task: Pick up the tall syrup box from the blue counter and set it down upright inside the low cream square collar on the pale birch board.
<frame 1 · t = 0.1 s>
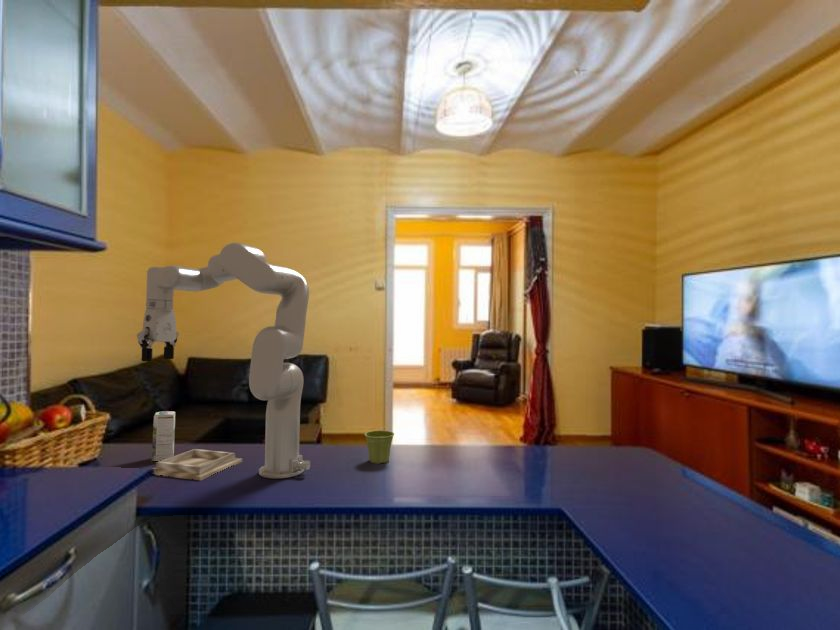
hand: (158, 360, 147), 31 cm above the kitchen counter, tool pointing down, fingers open, 9 cm apart
syrup box: (163, 459, 146), on the kitchen counter
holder: (196, 467, 138), on the kitchen counter
plant pot: (378, 461, 147), on the kitchen counter
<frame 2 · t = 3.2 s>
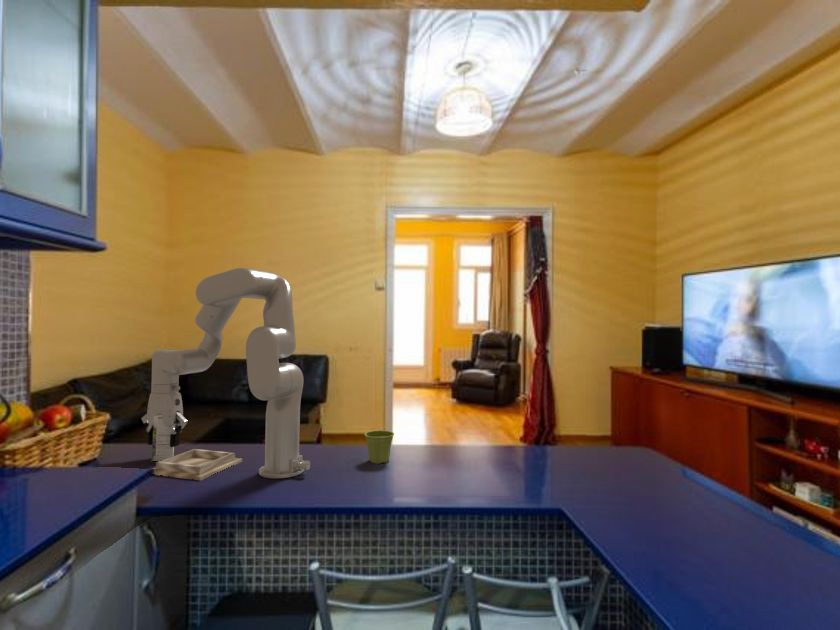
hand: (163, 444, 146), 4 cm above the kitchen counter, tool pointing down, fingers closed on syrup box, 7 cm apart
syrup box: (163, 459, 146), on the kitchen counter, touching gripper
everything else where it was.
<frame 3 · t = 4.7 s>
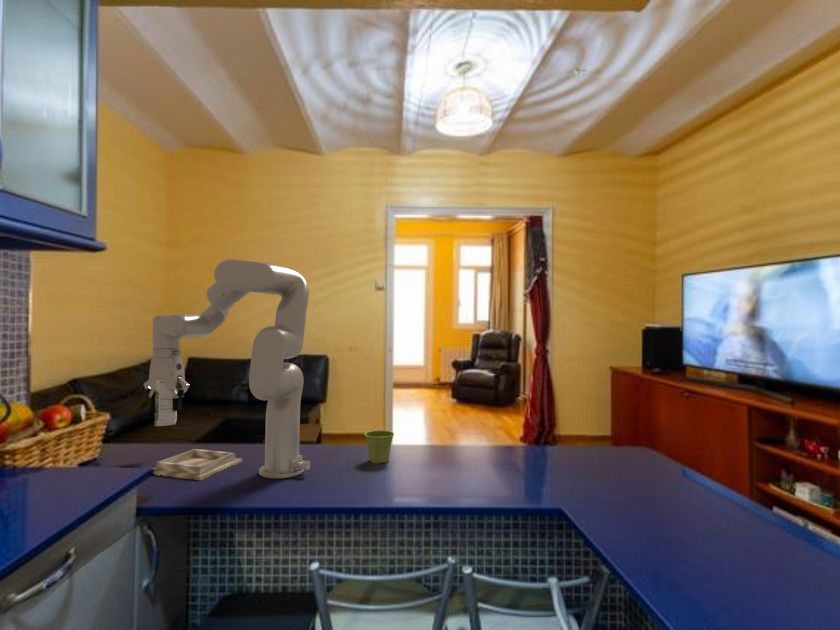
hand: (166, 409, 146), 15 cm above the kitchen counter, tool pointing down, fingers closed on syrup box, 7 cm apart
syrup box: (166, 424, 146), point 11 cm above the kitchen counter, touching gripper
everything else where it was.
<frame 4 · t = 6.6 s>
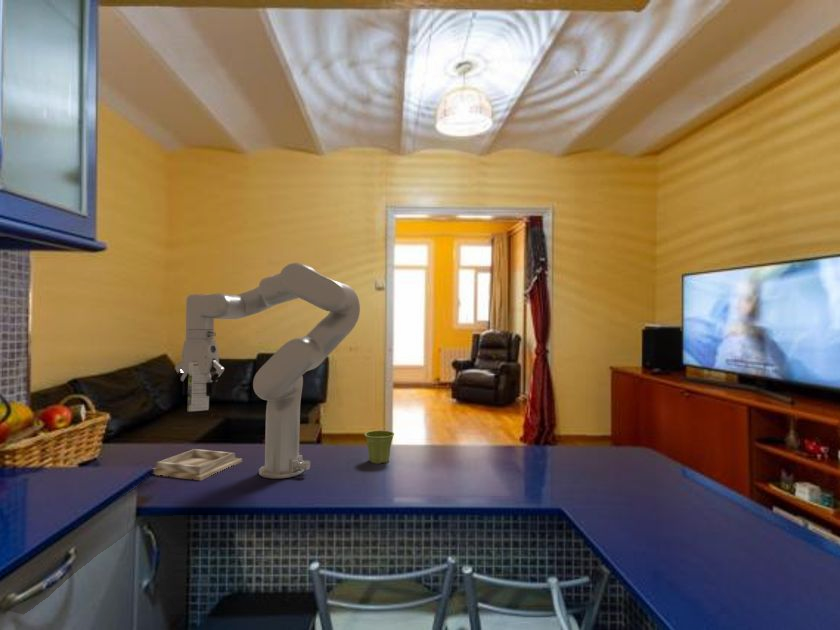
hand: (198, 394, 138), 22 cm above the kitchen counter, tool pointing down, fingers closed on syrup box, 7 cm apart
syrup box: (198, 410, 138), point 17 cm above the kitchen counter, touching gripper
everything else where it was.
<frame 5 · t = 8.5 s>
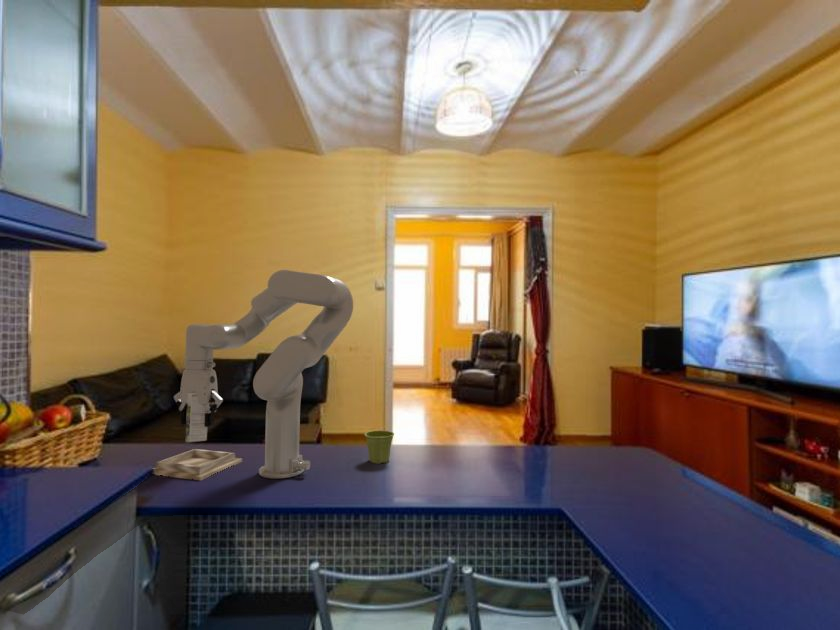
hand: (197, 424, 138), 13 cm above the kitchen counter, tool pointing down, fingers closed on syrup box, 7 cm apart
syrup box: (196, 440, 138), point 8 cm above the kitchen counter, touching gripper
everything else where it was.
when the fingers open (7 cm above the kitchen counter, at t = 10.2 s): syrup box drops 1 cm, resting on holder.
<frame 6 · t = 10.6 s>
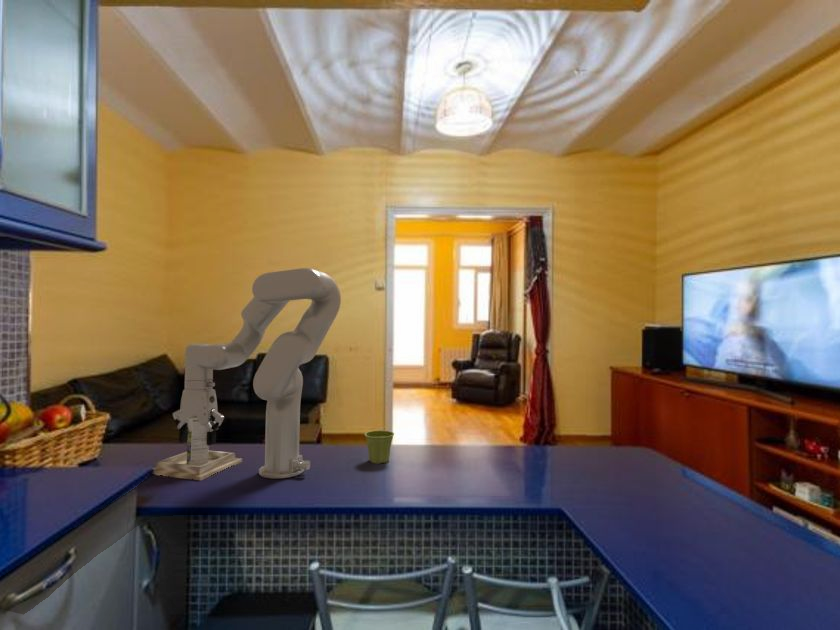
hand: (197, 442, 138), 7 cm above the kitchen counter, tool pointing down, fingers open, 9 cm apart
syrup box: (197, 465, 138), point 1 cm above the kitchen counter, touching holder
everything else where it was.
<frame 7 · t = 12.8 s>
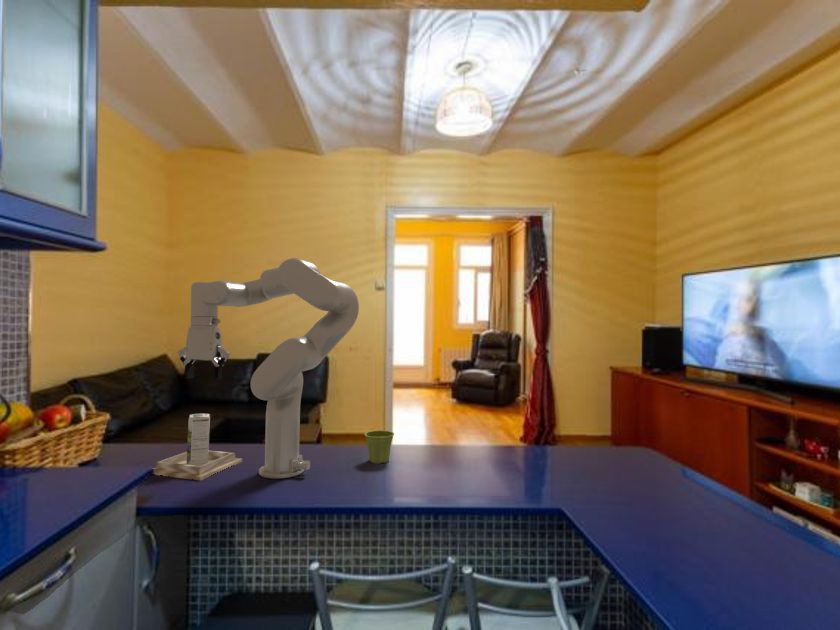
hand: (203, 379, 141), 26 cm above the kitchen counter, tool pointing down, fingers open, 9 cm apart
nothing on the kitchen counter moved.
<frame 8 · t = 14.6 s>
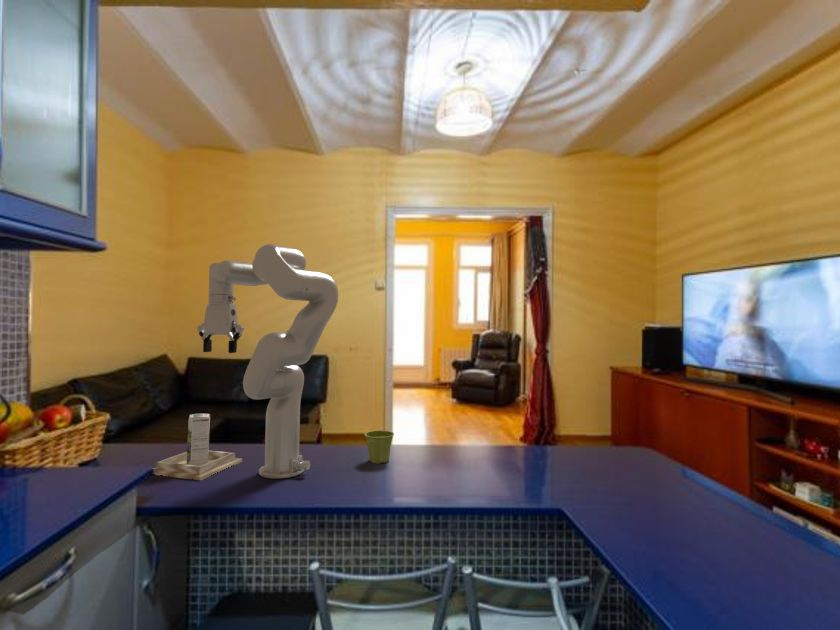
hand: (219, 352, 153), 33 cm above the kitchen counter, tool pointing down, fingers open, 9 cm apart
nothing on the kitchen counter moved.
at the end: syrup box inside the target area on the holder (0.4 cm from its centre), point 0.8 cm above the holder's base; syrup box tilted 0°; the gripper is holding nothing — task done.
